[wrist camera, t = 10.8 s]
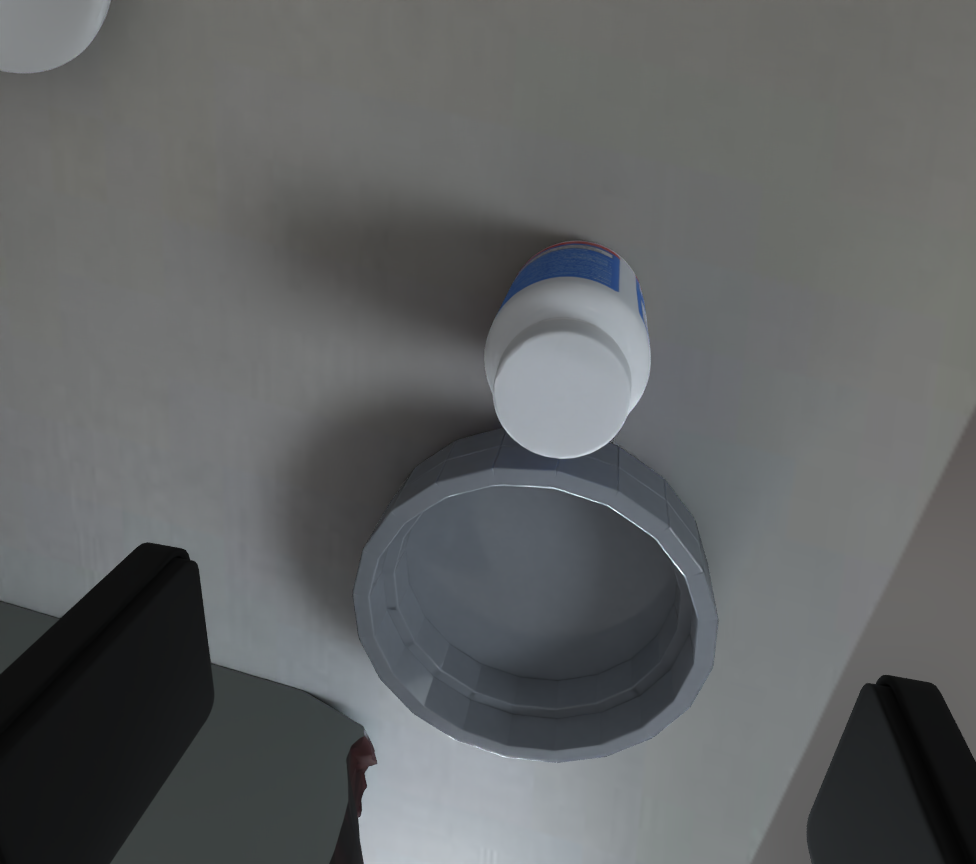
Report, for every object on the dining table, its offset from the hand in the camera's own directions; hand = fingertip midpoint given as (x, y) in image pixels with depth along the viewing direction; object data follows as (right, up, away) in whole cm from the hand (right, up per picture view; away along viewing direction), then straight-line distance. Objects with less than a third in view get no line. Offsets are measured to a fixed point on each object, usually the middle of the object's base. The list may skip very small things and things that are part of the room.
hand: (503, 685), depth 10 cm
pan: (+2, -3, +25) cm, 25 cm away
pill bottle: (+3, +9, +19) cm, 22 cm away
